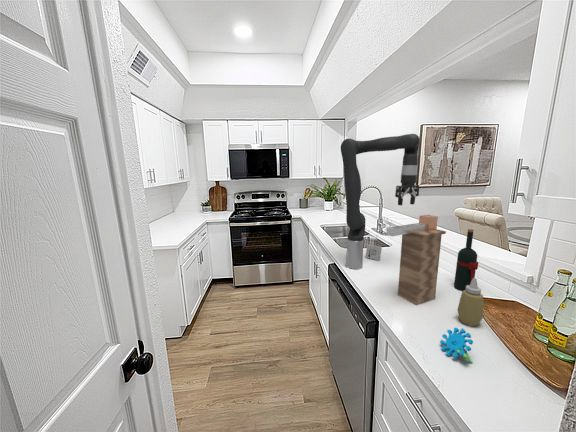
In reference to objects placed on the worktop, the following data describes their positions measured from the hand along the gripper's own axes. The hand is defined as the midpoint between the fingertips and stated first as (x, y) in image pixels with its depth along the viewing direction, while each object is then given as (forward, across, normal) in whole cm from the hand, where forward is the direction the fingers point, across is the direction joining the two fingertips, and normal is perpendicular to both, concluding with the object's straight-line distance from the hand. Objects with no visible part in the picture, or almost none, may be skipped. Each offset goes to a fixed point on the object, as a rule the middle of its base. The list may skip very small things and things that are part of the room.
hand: (406, 204), depth 134 cm
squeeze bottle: (+39, -11, -45) cm, 60 cm away
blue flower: (+39, -32, -54) cm, 74 cm away
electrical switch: (+40, +2, +25) cm, 47 cm away
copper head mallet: (+7, -21, -23) cm, 32 cm away
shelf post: (+39, -14, -23) cm, 47 cm away
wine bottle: (+39, +14, -27) cm, 50 cm away
